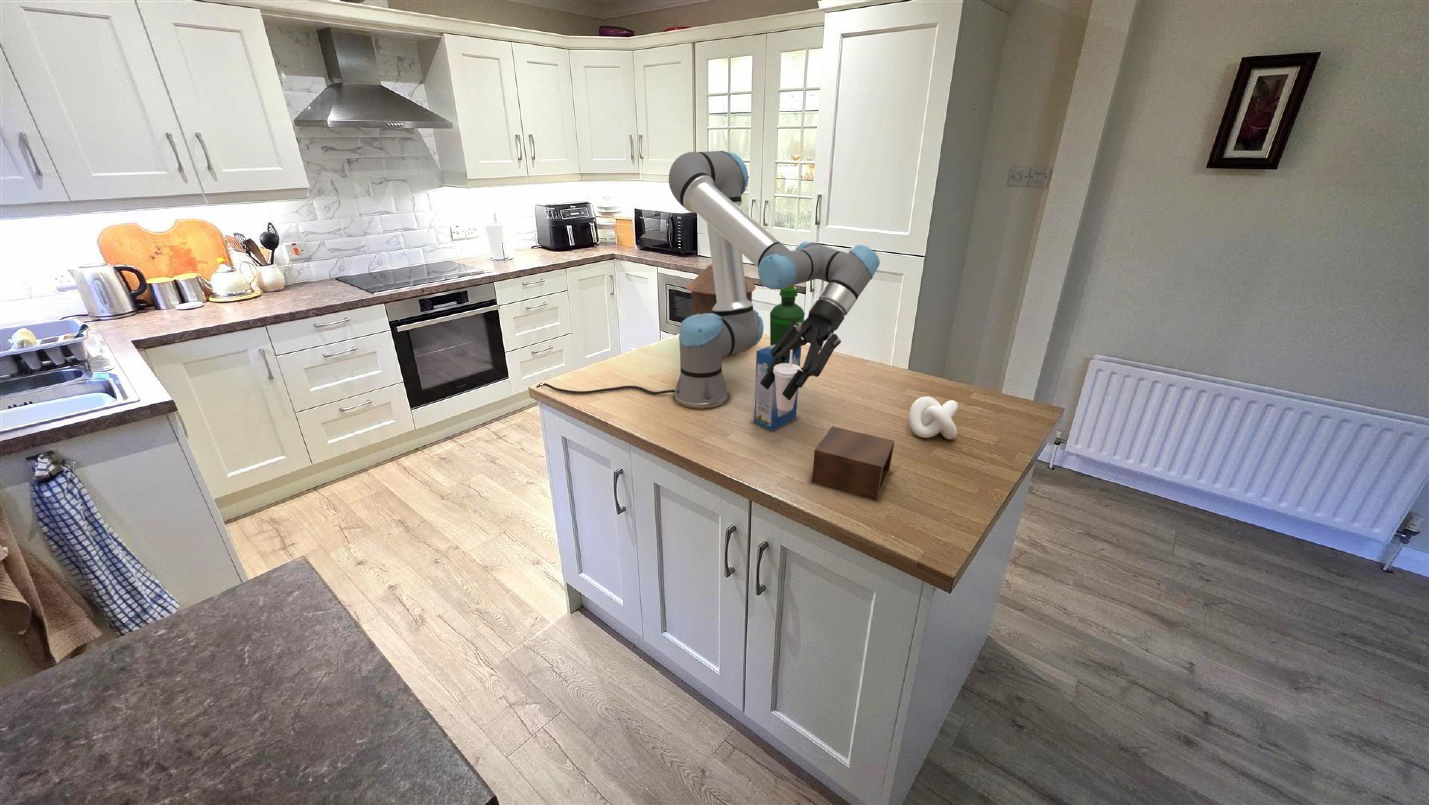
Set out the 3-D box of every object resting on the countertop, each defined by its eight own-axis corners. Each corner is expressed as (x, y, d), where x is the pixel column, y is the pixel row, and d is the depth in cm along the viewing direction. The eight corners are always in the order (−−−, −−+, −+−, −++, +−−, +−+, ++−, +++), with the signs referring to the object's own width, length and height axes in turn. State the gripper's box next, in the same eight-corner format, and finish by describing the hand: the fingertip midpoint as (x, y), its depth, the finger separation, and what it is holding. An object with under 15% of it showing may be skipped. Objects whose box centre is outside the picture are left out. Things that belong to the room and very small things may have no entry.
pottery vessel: (725, 369, 176) (726, 276, 163) (670, 350, 192) (667, 264, 179) (773, 348, 194) (777, 263, 181) (719, 333, 209) (719, 253, 196)
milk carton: (778, 410, 150) (782, 341, 141) (796, 418, 146) (801, 347, 137) (753, 422, 143) (756, 350, 135) (771, 431, 139) (775, 357, 131)
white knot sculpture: (921, 417, 146) (927, 387, 142) (966, 433, 139) (974, 401, 135) (901, 432, 139) (906, 400, 135) (948, 449, 131) (955, 416, 127)
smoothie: (797, 414, 123) (802, 356, 117) (769, 411, 124) (772, 354, 118) (799, 402, 129) (804, 346, 122) (772, 399, 130) (775, 343, 124)
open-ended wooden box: (811, 482, 119) (814, 449, 115) (828, 456, 128) (831, 425, 125) (876, 500, 113) (881, 466, 109) (889, 472, 122) (894, 440, 119)
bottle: (802, 376, 171) (809, 287, 159) (768, 376, 172) (772, 287, 159) (798, 363, 181) (804, 279, 169) (766, 363, 181) (770, 279, 169)
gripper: (872, 328, 120) (814, 415, 118) (807, 307, 133) (754, 385, 132) (859, 308, 114) (798, 399, 113) (793, 289, 128) (738, 370, 126)
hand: (774, 391), depth 122 cm, fingers closed on smoothie, 6 cm apart
